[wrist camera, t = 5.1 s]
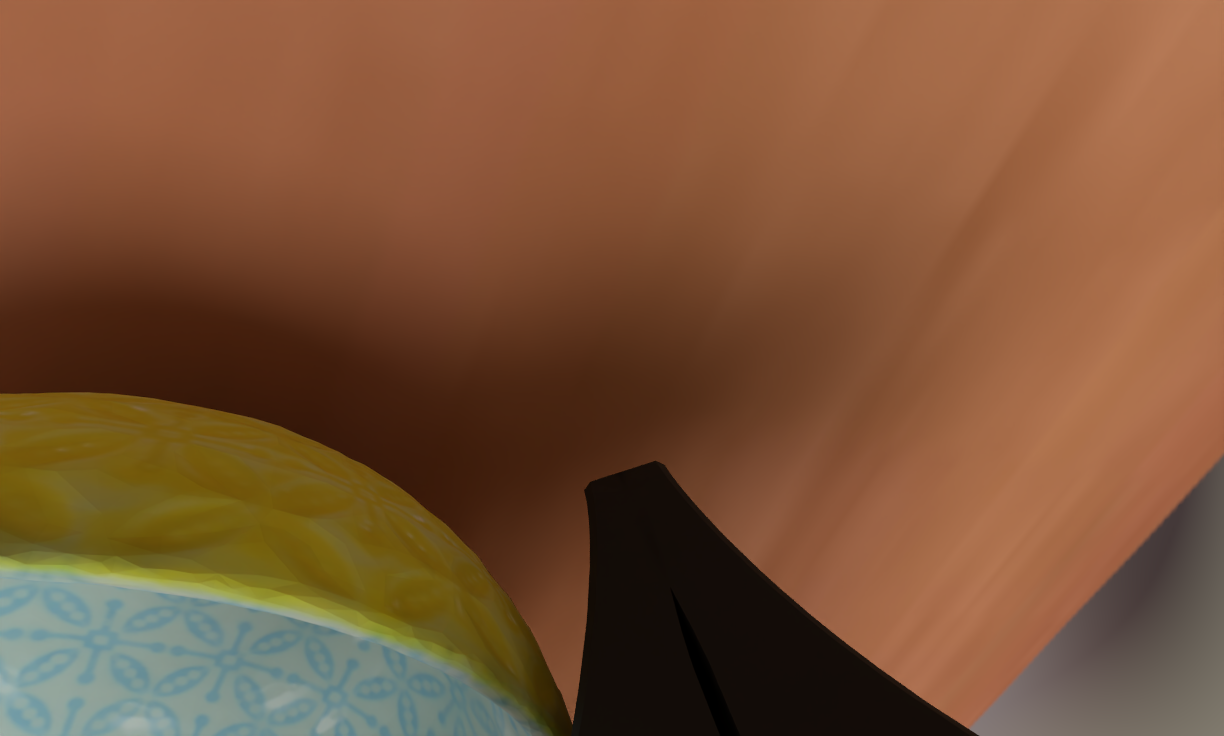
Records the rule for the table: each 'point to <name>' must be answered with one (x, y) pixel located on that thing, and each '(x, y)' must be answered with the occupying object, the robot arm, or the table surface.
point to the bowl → (238, 587)
